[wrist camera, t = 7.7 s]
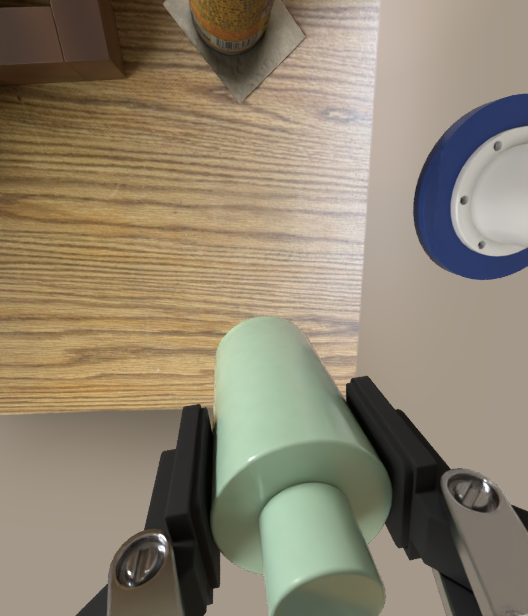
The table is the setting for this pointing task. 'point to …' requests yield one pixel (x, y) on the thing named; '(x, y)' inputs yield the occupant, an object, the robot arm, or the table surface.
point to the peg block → (60, 43)
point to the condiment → (238, 37)
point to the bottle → (294, 475)
